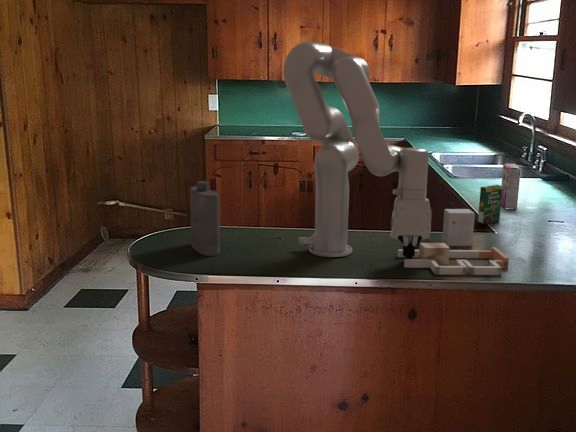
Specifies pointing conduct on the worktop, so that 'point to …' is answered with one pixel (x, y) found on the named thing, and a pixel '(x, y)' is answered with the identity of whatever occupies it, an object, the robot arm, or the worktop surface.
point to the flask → (204, 219)
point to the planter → (430, 229)
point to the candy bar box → (510, 185)
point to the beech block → (435, 252)
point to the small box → (458, 227)
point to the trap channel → (462, 262)
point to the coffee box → (490, 204)
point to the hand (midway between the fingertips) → (408, 258)
